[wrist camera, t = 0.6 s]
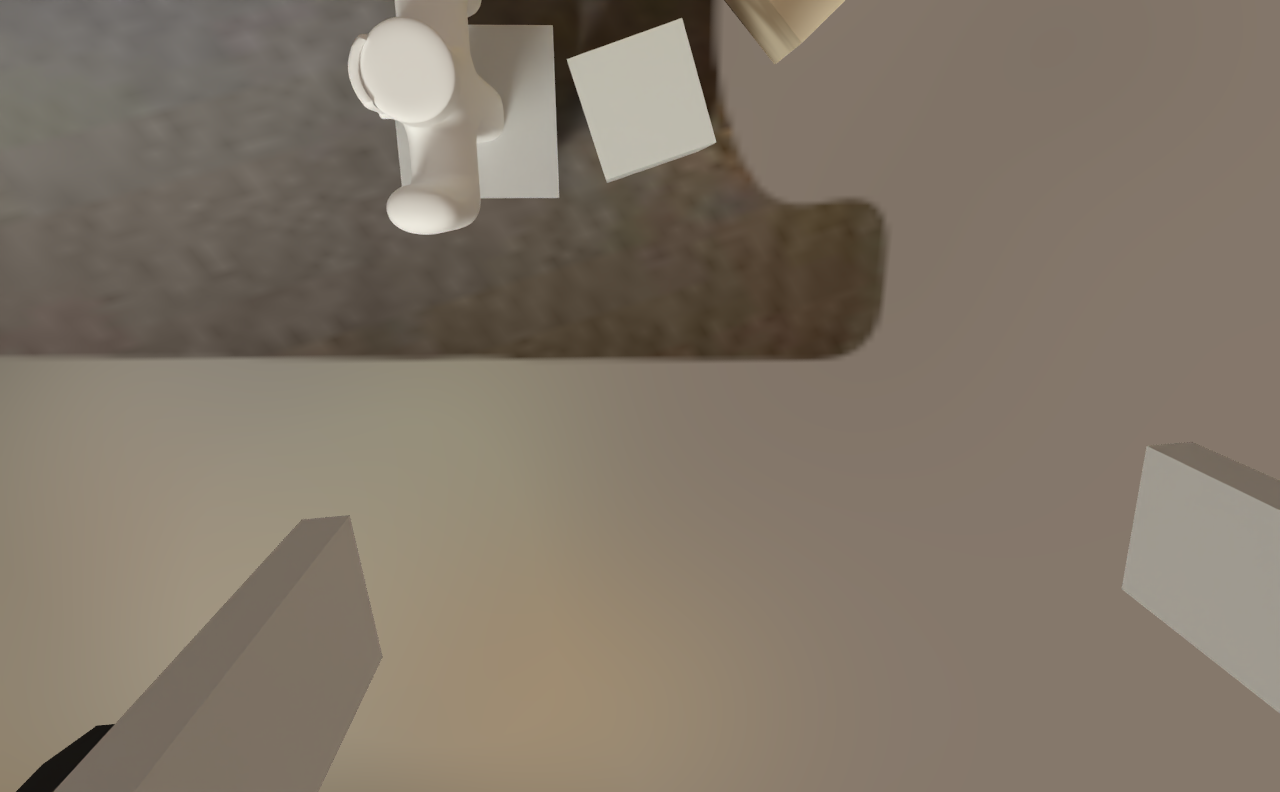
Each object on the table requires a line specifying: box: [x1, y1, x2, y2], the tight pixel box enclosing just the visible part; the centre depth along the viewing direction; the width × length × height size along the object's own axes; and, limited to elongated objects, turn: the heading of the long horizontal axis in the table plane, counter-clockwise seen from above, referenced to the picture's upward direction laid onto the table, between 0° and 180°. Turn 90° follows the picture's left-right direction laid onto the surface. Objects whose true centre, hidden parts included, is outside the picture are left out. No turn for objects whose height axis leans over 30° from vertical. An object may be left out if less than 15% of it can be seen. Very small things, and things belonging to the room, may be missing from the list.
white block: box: [567, 18, 716, 183], centre depth 31 cm, size 5×5×6 cm
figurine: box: [348, 0, 559, 235], centre depth 26 cm, size 7×9×15 cm
